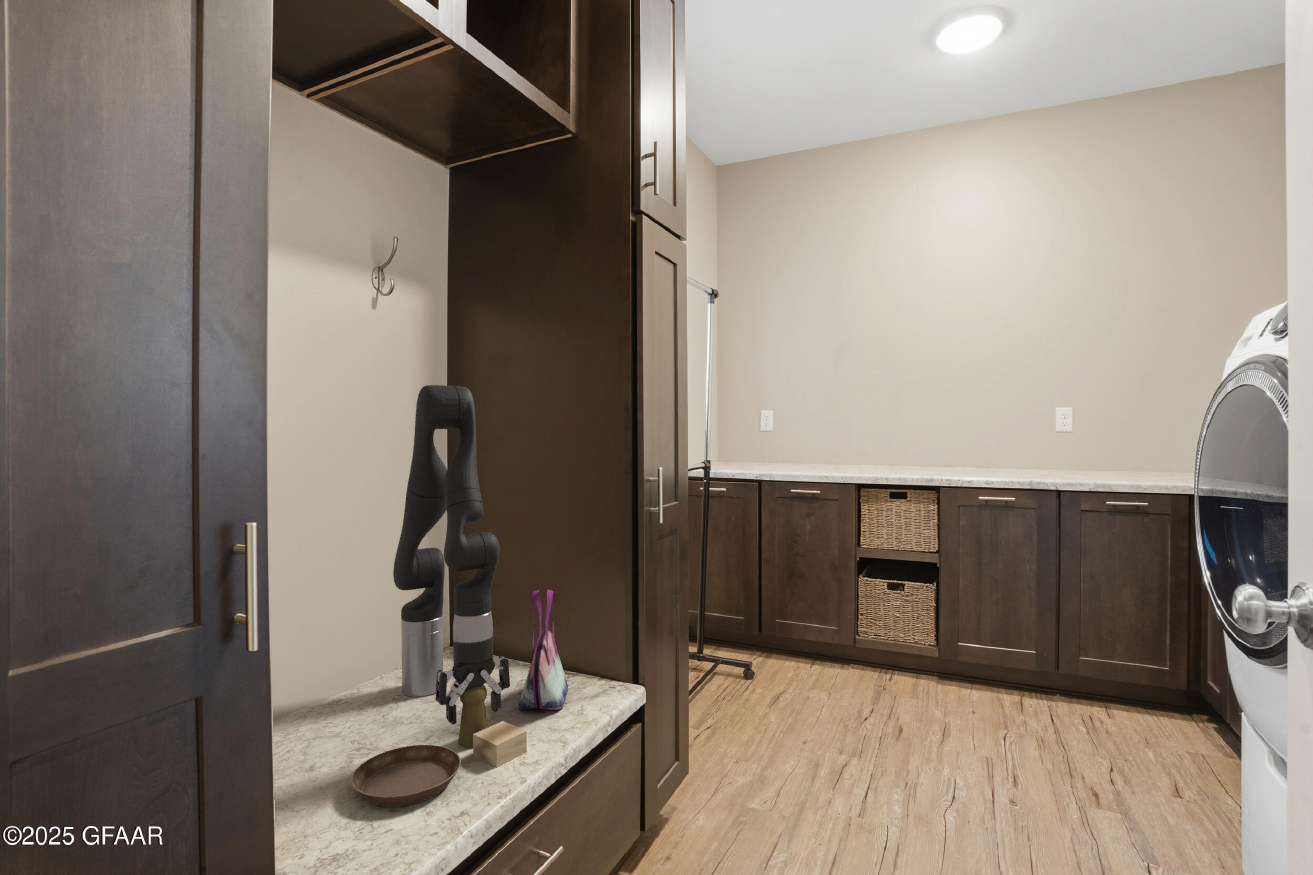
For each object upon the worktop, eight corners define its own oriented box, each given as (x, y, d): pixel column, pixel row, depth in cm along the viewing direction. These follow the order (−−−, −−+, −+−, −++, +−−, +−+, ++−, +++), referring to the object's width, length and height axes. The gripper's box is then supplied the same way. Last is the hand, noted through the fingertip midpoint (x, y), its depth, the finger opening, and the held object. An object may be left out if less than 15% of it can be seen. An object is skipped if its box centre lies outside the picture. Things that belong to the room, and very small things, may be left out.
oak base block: (473, 755, 122) (472, 734, 122) (502, 741, 128) (502, 721, 128) (496, 767, 118) (496, 745, 118) (526, 751, 124) (526, 730, 123)
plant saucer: (421, 750, 125) (420, 734, 125) (481, 778, 115) (481, 761, 115) (330, 792, 111) (330, 774, 110) (390, 828, 100) (390, 809, 100)
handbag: (530, 681, 158) (529, 579, 158) (571, 681, 158) (570, 579, 158) (512, 721, 136) (511, 603, 136) (560, 720, 137) (559, 602, 136)
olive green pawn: (480, 749, 125) (480, 692, 124) (452, 746, 126) (451, 690, 126) (494, 735, 130) (494, 680, 130) (467, 732, 132) (466, 678, 132)
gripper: (499, 623, 135) (500, 701, 135) (430, 637, 126) (431, 720, 127) (514, 632, 129) (515, 713, 129) (443, 647, 120) (444, 734, 121)
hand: (474, 717), depth 128 cm, fingers open, 8 cm apart
